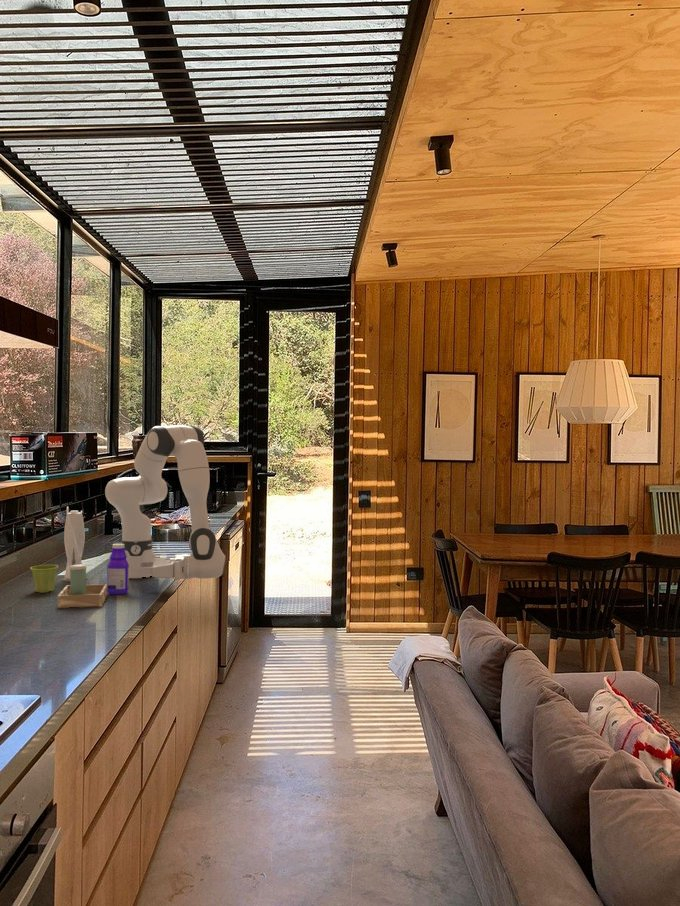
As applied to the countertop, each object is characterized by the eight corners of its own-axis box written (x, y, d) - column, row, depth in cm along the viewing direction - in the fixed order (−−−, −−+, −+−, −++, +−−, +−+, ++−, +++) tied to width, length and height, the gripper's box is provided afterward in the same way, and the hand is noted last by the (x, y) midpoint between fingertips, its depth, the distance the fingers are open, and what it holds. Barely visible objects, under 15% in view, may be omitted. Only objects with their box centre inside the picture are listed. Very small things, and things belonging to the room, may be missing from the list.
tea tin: (71, 601, 259) (70, 564, 258) (87, 600, 260) (87, 564, 259) (69, 604, 254) (68, 567, 253) (86, 603, 255) (85, 567, 254)
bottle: (130, 591, 278) (130, 542, 277) (126, 595, 272) (126, 545, 271) (109, 591, 277) (109, 542, 277) (105, 595, 272) (105, 545, 271)
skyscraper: (57, 580, 298) (57, 506, 297) (74, 577, 305) (73, 505, 305) (73, 582, 294) (73, 508, 293) (89, 579, 301) (89, 506, 301)
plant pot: (28, 594, 272) (28, 569, 272) (31, 589, 281) (31, 565, 281) (57, 593, 274) (57, 568, 274) (59, 588, 284) (59, 564, 283)
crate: (66, 596, 268) (66, 585, 268) (107, 595, 271) (107, 584, 271) (57, 608, 251) (57, 595, 251) (101, 606, 254) (101, 594, 254)
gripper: (180, 553, 289) (141, 554, 286) (179, 562, 268) (137, 563, 266) (180, 570, 289) (141, 571, 286) (179, 580, 269) (137, 581, 266)
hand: (139, 567), depth 276 cm, fingers open, 8 cm apart
